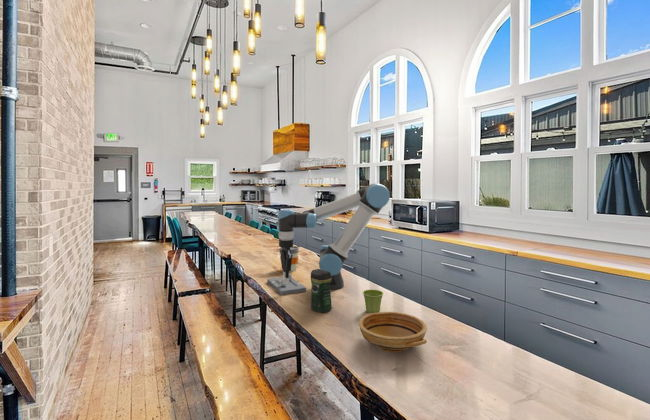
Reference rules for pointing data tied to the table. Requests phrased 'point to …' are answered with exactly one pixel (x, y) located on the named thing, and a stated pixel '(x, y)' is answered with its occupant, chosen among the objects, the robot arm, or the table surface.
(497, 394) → the table surface
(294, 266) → the reusable coffee cup
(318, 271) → the coffee jar
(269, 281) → the console
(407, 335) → the ceramic bowl
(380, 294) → the plant pot
